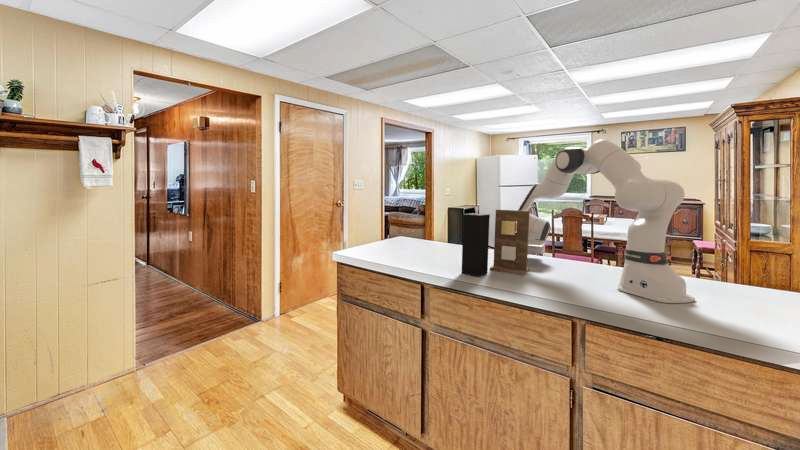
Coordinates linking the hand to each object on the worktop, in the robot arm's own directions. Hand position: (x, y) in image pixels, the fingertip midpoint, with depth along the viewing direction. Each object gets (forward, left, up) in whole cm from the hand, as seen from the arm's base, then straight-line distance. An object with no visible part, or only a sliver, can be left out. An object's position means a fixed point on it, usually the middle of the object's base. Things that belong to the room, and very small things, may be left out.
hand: (517, 249), depth 162 cm
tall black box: (-8, +24, -8) cm, 27 cm away
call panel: (-6, +7, -8) cm, 12 cm away
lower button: (-6, +7, -3) cm, 9 cm away
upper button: (-7, +8, +8) cm, 13 cm away
